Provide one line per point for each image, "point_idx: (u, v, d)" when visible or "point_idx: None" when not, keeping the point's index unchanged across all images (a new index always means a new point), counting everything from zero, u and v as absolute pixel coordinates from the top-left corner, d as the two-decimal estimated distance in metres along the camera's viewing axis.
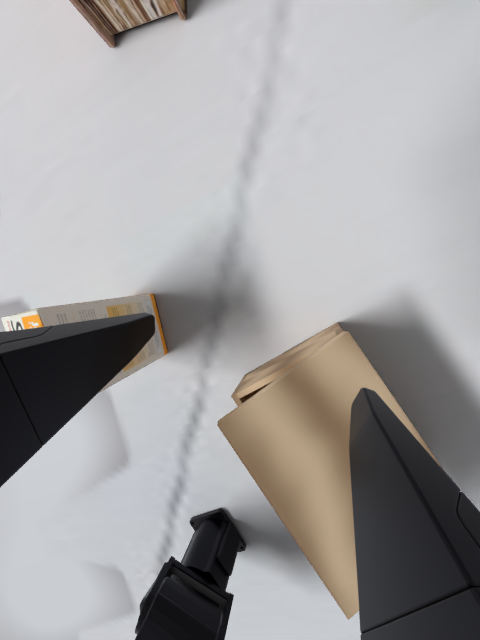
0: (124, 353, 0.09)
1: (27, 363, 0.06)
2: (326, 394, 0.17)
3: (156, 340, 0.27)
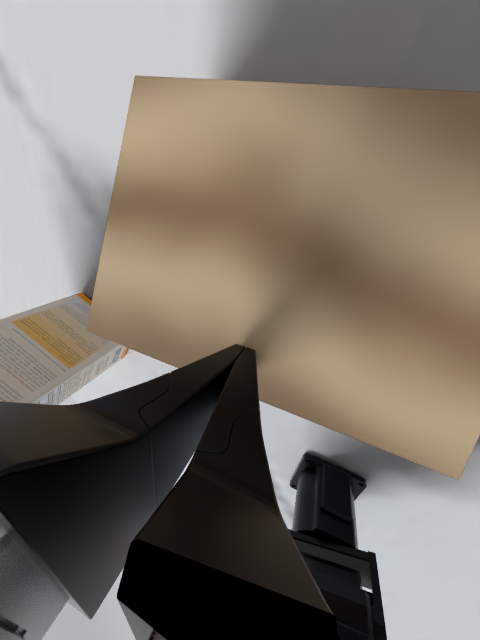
0: None
1: (166, 430, 0.05)
2: (168, 181, 0.10)
3: None
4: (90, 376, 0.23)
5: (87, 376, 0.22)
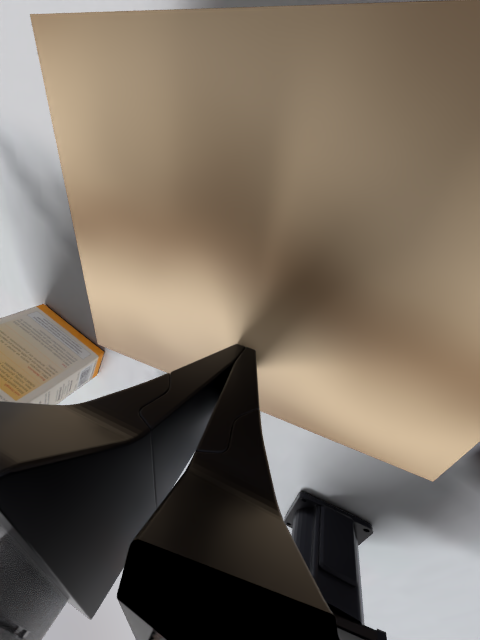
0: None
1: (166, 430, 0.05)
2: (123, 192, 0.08)
3: (72, 346, 0.21)
4: (49, 403, 0.20)
5: None
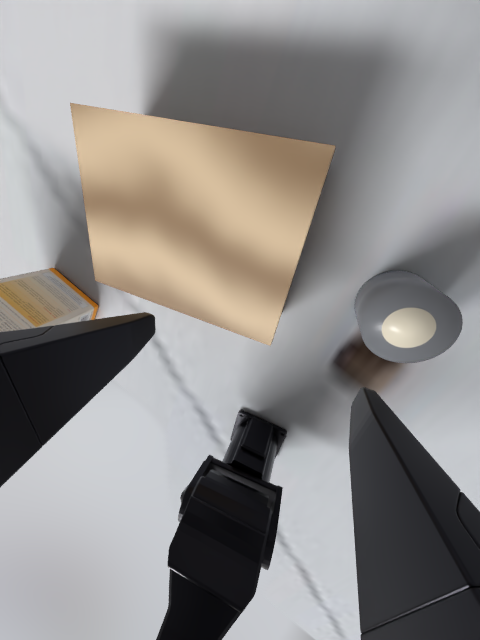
0: (124, 353, 0.09)
1: (27, 363, 0.06)
2: (112, 187, 0.15)
3: (74, 298, 0.29)
4: None
5: None
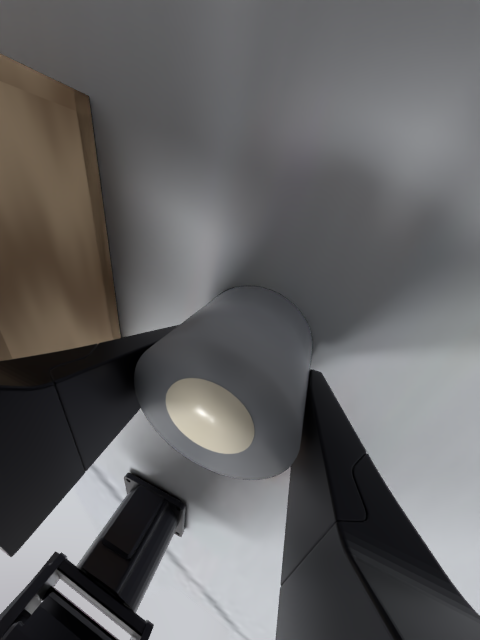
0: None
1: (79, 388, 0.06)
2: None
3: None
4: None
5: None
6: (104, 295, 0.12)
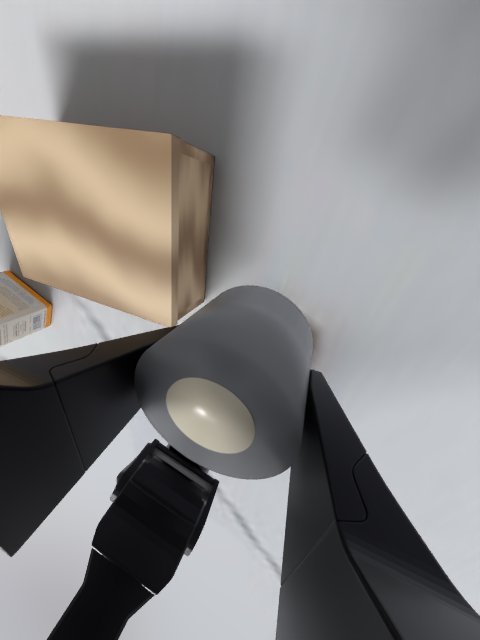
0: None
1: (79, 388, 0.06)
2: (15, 186, 0.17)
3: (26, 298, 0.30)
4: (8, 336, 0.29)
5: (4, 335, 0.28)
6: (203, 262, 0.20)
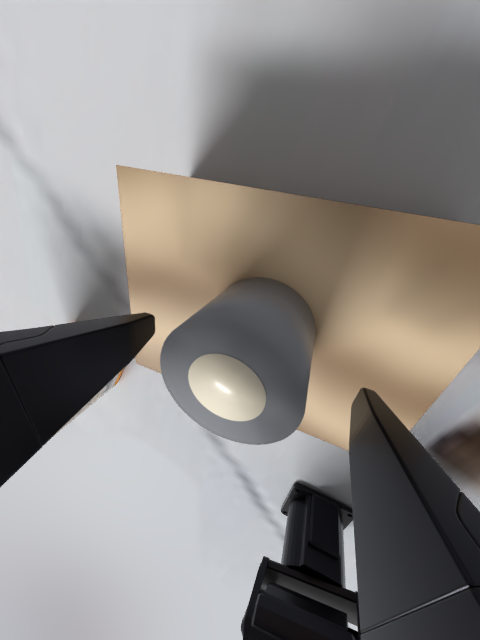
0: (124, 353, 0.09)
1: (27, 363, 0.06)
2: (168, 267, 0.12)
3: None
4: (82, 408, 0.23)
5: None
6: None
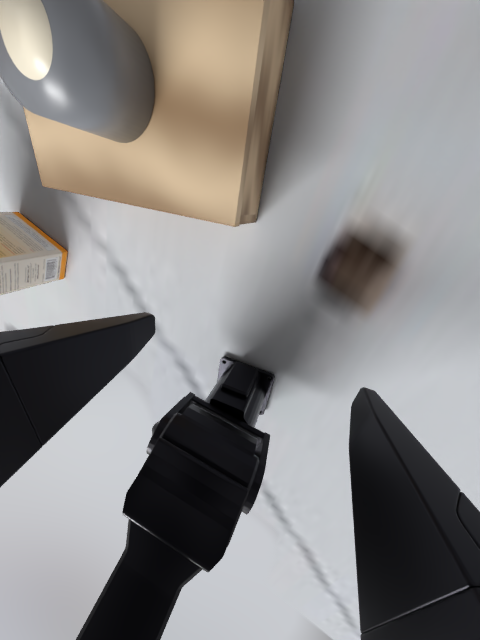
0: (124, 353, 0.09)
1: (27, 363, 0.06)
2: None
3: (39, 241, 0.26)
4: (19, 280, 0.25)
5: (14, 277, 0.24)
6: (263, 161, 0.16)
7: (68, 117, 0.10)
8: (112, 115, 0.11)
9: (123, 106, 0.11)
